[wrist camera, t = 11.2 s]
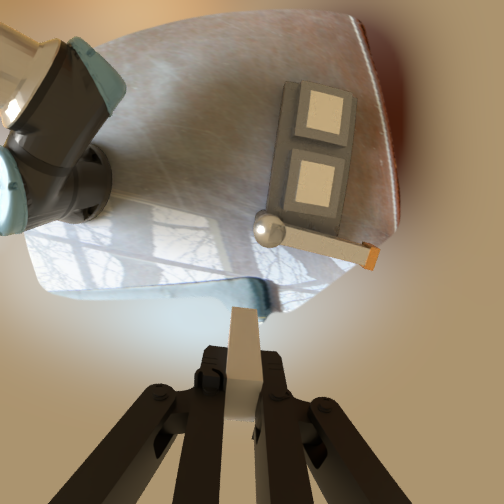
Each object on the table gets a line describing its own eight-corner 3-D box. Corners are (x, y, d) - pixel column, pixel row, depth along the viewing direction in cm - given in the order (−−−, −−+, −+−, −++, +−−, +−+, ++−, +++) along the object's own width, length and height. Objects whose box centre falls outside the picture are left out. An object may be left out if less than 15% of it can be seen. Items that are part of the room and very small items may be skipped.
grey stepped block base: (252, 235, 46) (253, 247, 38) (274, 85, 40) (280, 67, 32) (329, 246, 47) (344, 259, 39) (351, 102, 40) (369, 90, 33)
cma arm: (250, 238, 38) (250, 243, 35) (257, 209, 37) (258, 212, 34) (363, 266, 39) (372, 273, 36) (371, 241, 38) (381, 246, 35)
